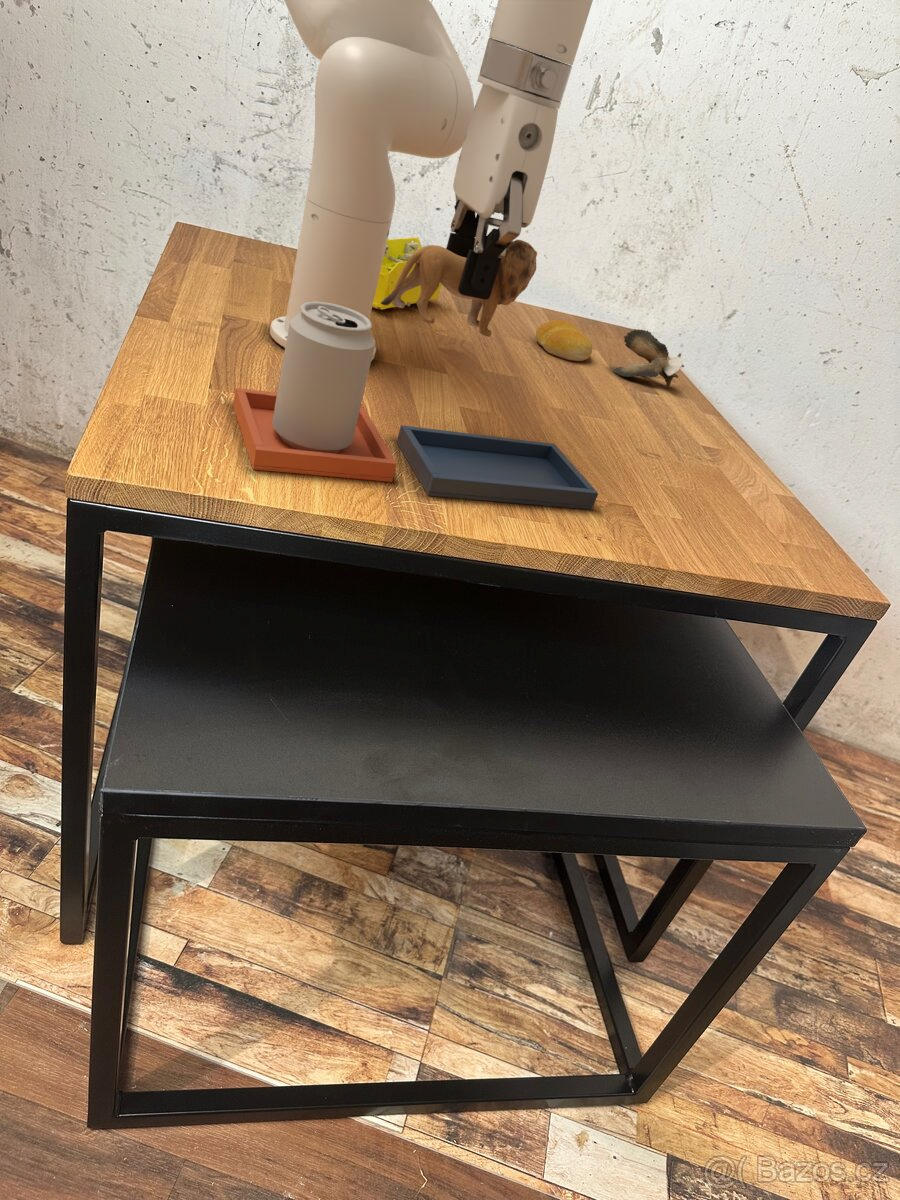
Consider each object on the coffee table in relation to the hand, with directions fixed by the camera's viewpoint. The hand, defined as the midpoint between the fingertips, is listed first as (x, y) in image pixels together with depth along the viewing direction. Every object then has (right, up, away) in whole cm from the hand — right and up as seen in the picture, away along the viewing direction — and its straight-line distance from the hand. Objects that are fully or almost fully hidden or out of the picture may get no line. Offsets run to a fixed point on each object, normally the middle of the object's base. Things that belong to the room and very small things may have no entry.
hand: (464, 284), depth 84 cm
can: (-14, -16, -4) cm, 22 cm away
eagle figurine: (+27, +2, +46) cm, 53 cm away
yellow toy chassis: (-9, +13, +43) cm, 46 cm away
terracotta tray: (-14, -16, -4) cm, 22 cm away
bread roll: (+15, +7, +46) cm, 49 cm away
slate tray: (+3, -18, +2) cm, 19 cm away
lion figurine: (-1, -3, +2) cm, 4 cm away
